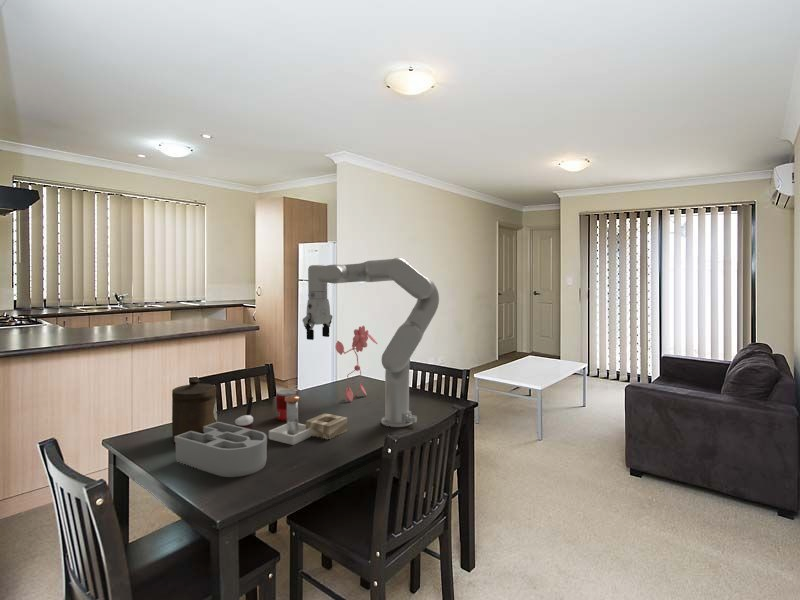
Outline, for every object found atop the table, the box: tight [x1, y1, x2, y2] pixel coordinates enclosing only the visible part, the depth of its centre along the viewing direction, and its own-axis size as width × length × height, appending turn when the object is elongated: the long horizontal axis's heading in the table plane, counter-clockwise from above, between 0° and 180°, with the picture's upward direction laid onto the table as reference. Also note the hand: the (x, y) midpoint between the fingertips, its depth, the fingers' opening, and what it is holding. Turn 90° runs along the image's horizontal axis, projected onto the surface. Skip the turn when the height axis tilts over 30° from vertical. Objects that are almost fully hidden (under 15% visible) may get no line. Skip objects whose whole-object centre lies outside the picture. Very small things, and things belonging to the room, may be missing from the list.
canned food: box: [276, 389, 297, 422], centre depth 188 cm, size 8×8×11 cm
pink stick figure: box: [335, 325, 378, 403], centre depth 215 cm, size 15×26×35 cm, turn 146°
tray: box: [268, 422, 314, 446], centre depth 167 cm, size 12×12×3 cm
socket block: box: [305, 412, 349, 440], centre depth 172 cm, size 11×11×5 cm
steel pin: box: [285, 394, 301, 435], centre depth 167 cm, size 5×5×14 cm
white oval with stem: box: [234, 396, 254, 430], centre depth 172 cm, size 10×6×12 cm, turn 141°
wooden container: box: [171, 377, 218, 444], centre depth 166 cm, size 15×15×22 cm
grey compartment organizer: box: [175, 421, 268, 478], centre depth 145 cm, size 17×28×9 cm, turn 61°
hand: (318, 338), depth 186 cm, fingers open, 9 cm apart
